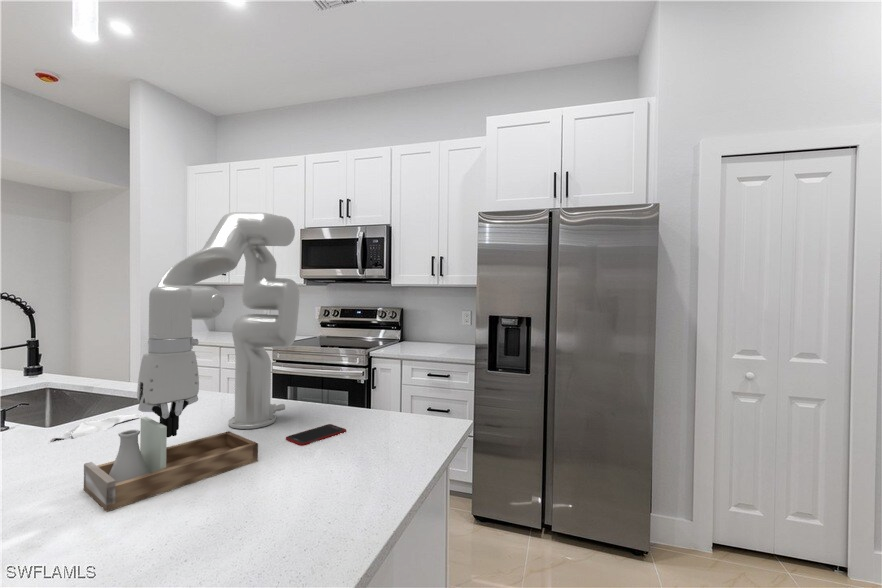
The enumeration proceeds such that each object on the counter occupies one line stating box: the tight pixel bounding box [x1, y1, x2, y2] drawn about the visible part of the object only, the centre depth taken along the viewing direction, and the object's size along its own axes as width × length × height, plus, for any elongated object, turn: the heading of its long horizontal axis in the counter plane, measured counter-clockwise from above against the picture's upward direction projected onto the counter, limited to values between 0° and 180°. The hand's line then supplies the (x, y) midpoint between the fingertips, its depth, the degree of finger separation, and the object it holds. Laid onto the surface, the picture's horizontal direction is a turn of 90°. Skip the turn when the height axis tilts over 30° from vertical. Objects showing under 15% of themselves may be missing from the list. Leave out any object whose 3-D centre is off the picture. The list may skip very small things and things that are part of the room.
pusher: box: [139, 416, 167, 473], centre depth 85 cm, size 1×10×11 cm, turn 54°
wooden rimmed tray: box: [83, 431, 259, 512], centre depth 88 cm, size 28×13×5 cm, turn 144°
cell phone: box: [285, 423, 347, 447], centre depth 113 cm, size 8×15×1 cm, turn 142°
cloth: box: [47, 412, 145, 444], centre depth 117 cm, size 26×14×2 cm, turn 155°
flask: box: [109, 429, 150, 483], centre depth 82 cm, size 7×7×10 cm
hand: (169, 435), depth 87 cm, fingers closed
